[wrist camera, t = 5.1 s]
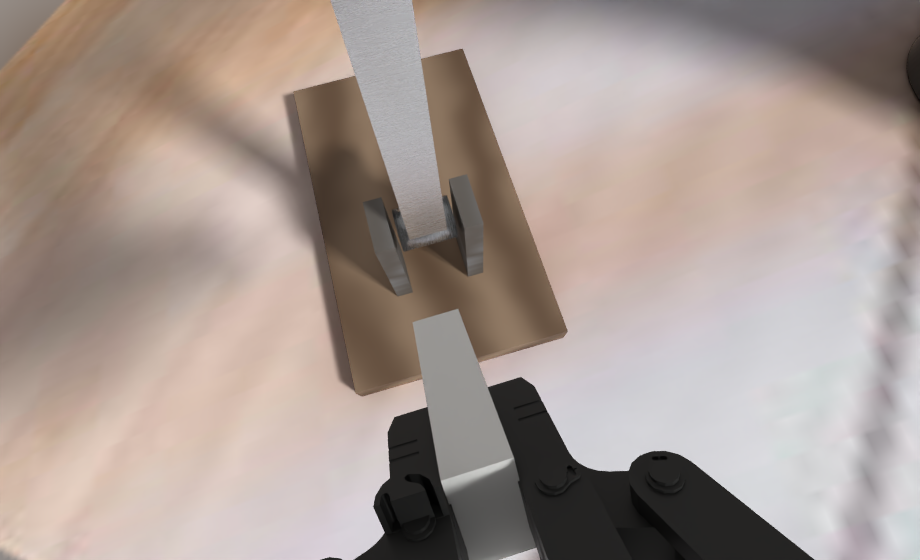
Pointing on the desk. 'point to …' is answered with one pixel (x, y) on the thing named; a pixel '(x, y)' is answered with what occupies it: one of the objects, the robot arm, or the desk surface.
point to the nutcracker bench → (433, 266)
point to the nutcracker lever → (398, 113)
